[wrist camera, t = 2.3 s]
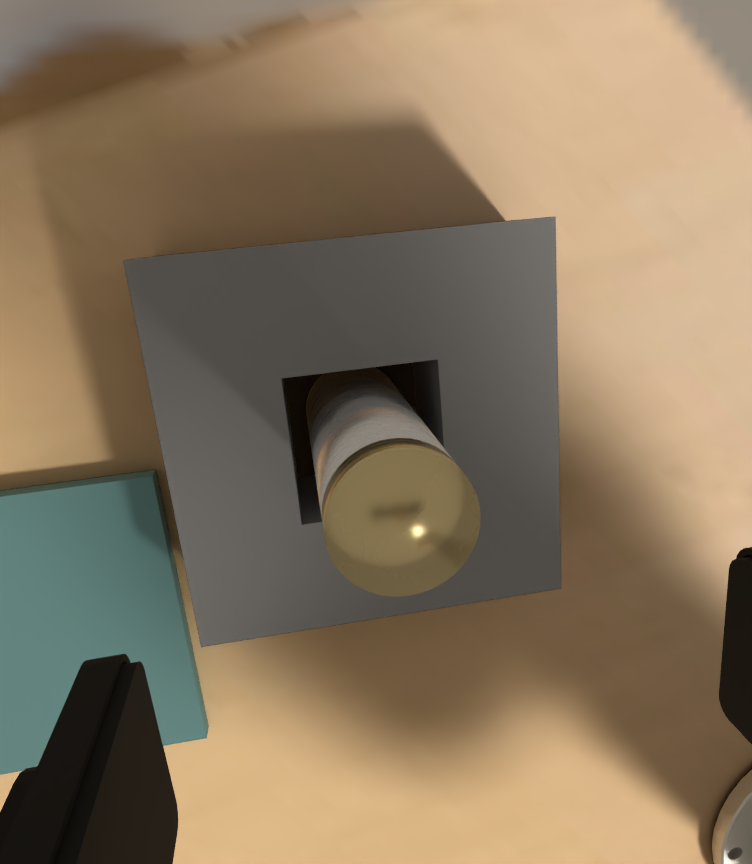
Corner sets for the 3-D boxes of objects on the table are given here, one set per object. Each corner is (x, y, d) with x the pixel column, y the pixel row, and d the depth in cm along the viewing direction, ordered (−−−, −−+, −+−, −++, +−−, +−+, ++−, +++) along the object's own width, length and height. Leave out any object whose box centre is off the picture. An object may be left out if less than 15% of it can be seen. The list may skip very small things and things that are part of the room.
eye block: (506, 220, 27) (555, 216, 22) (517, 534, 31) (561, 588, 26) (153, 256, 25) (123, 260, 20) (214, 581, 29) (201, 647, 24)
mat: (155, 469, 27) (152, 476, 27) (208, 725, 31) (206, 738, 30) (-179, 514, 26) (-193, 522, 25) (-82, 776, 30) (-91, 790, 29)
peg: (395, 357, 28) (476, 439, 16) (403, 447, 29) (484, 583, 17) (300, 368, 27) (314, 461, 16) (312, 459, 28) (333, 607, 17)
